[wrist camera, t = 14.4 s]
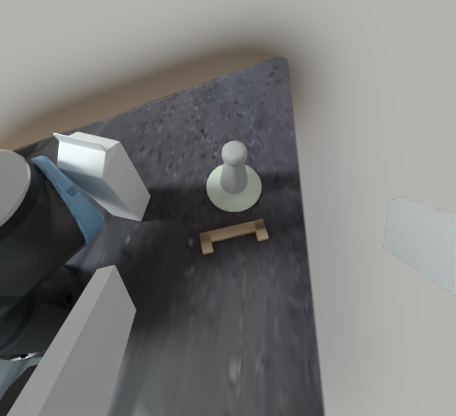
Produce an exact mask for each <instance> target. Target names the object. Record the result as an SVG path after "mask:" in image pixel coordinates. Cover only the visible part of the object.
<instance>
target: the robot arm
mask: <svg viewBox="0 0 456 416" xmlns="http://www.w3.org/2000/svg"><path fill="white" fill-rule="evenodd" d="M103 225H104V217H103V215H102V214H101V213H100V212H99V211H98V210H97V209H96V208H95V206H94V205H93V204H92V203H91V202H90V201H89V200H88V199H87V198H86V197H85V196H84V195H83V194H82V193H81V192H80V191H79V190H78V189H77V188H76V187H75V186H74V185H73V184H72V183H71V182H70V181H69V179H68V178H67V177H66V176H65V175H64V174H63V173H62V172H61V171H60V170H59V169H58V168H57V167H56V166H55V165H54V164H53V163H52V162H51V161H50V160H49V159H48V158H47V157H45V156H39V157H37V158H32V159H31V161H30V162H29V161H27V160H26V159H24V158H23V157H22V156H20V155H18V154H17V153H15V152H13V151H9V150H2V149H0V359H2V360H9V361H20V360H26V359H30V358H33V357H37V356H40V355H43V354H44V356H43V358H42V359H41V361H40V362H39V364H37V365H34V366H30V367H28V368H27V369H26V370H25V371H24V372H23V373H22V374H21V375H20V377H19V378H18V379H17V380H16V381H15V382H14V383H13V384H12V385H11V386H10V387H9V388H8V390H7V391H6V393H5V394H4V396H3V397H2V399H1V400H0V416H107V412H108V409H109V405H110V402H111V398H112V395H113V391H114V387H115V384H116V380H117V377H118V373H119V370H120V366H121V363H122V359H123V355H124V352H125V348H126V345H127V341H128V338H129V334H130V330H131V327H132V323H133V320H134V316H135V313H136V309H135V307H134V305H133V302H132V300H131V298H130V296H129V294H128V292H127V289H126V287H125V285H124V283H123V281H122V279H121V277H120V274H119V272H118V270H117V268H116V266H115V265H112V266H108V267H104V268H100V269H97V270H96V272H95V273H94V275H93V277H92V278H91V280H90V282H89V283H88V285H87V286H86V288H85V290H84V291H83V287H82V284H81V282H80V280H79V278H78V276H77V275H76V274H75V273H74V272H73V271H71V270H70V269H68V268H66V267H64V266H62V265H64V264H65V263H66V262H67V261H68V260H69V259H70V258H72V257H73V256H74V255H75V254H76V253H77V252H79V251H80V250H81V249H82V248H83V247H84V246H86V245H87V244H89V242H90V240H91V239H92V238H93V237H94V236H95V235H96V234H97V233H98V232H99V231H100V230H101V229H102V227H103ZM384 248H385V249H386V250H388V251H389V252H391V253H393V254H394V255H395V256H397V257H398V258H400V259H402V260H403V261H404V262H406V263H407V264H409V265H410V266H412V267H413V268H415V269H417V270H418V271H419V272H421V273H423V274H424V275H425V276H427V277H428V278H430V279H432V280H433V281H434V282H436V283H437V284H439V285H441V286H442V287H443V288H445V289H447V290H448V291H450V292H451V293H453V294H454V295H456V216H455V215H452V214H450V213H447V212H444V211H441V210H439V209H436V208H433V207H430V206H427V205H424V204H422V203H419V202H416V201H414V200H411V199H408V198H405V197H401V198H397V199H393V200H390V201H389V208H388V216H387V224H386V231H385V240H384Z"/></svg>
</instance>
